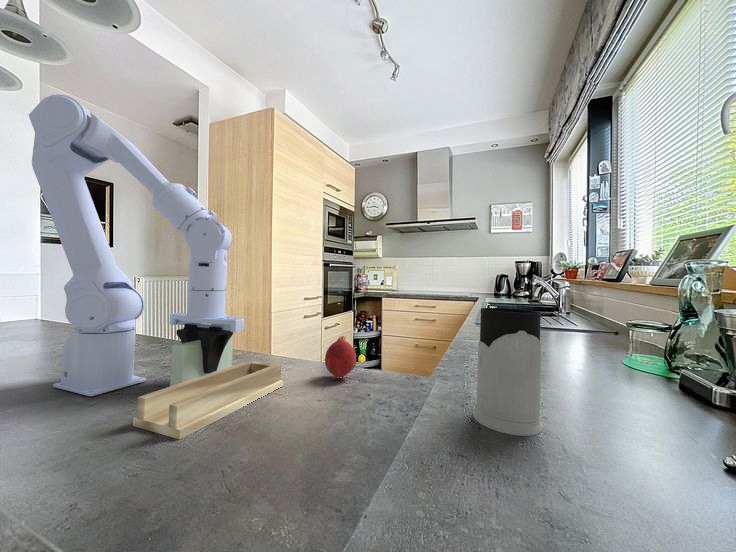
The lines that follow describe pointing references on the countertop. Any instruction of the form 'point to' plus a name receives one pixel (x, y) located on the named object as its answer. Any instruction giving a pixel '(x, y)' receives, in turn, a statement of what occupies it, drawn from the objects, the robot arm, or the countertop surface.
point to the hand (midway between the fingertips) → (203, 370)
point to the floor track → (205, 398)
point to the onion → (340, 358)
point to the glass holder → (509, 371)
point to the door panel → (194, 361)
